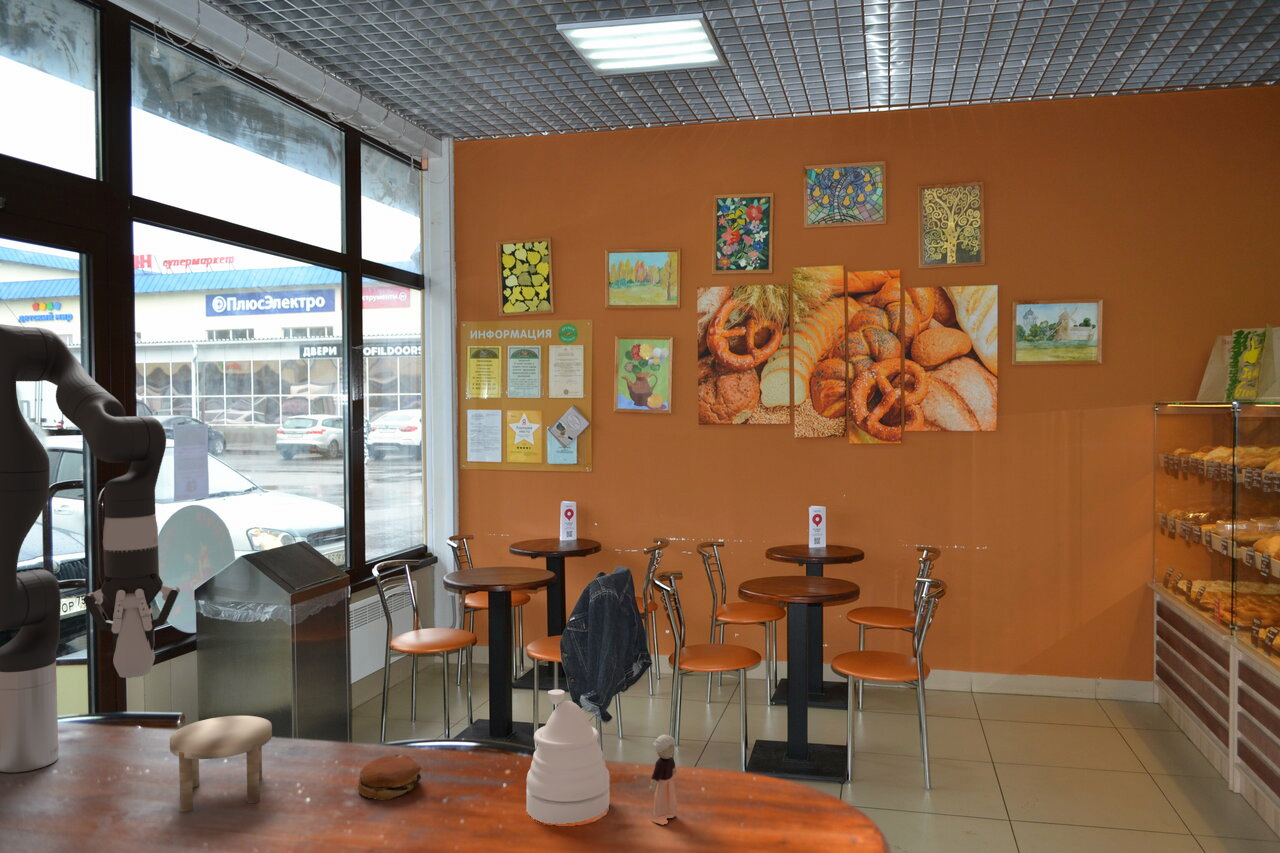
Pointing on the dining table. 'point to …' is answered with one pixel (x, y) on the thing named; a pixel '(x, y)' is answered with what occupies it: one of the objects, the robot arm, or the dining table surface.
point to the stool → (219, 750)
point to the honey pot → (567, 768)
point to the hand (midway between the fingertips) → (134, 653)
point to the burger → (389, 777)
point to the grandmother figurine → (664, 777)
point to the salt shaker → (132, 642)
